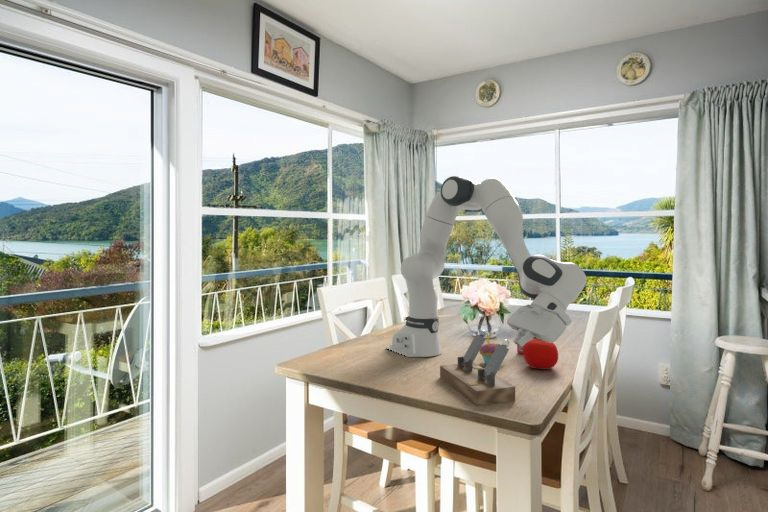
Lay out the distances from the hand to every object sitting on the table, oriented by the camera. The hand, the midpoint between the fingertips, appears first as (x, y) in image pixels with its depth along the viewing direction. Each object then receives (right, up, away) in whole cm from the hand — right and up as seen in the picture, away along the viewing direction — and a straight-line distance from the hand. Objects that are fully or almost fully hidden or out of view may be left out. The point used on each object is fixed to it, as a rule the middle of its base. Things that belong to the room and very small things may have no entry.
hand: (517, 344), depth 129 cm
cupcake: (0, -13, +29) cm, 32 cm away
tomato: (+15, -13, +24) cm, 31 cm away
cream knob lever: (-10, -9, -3) cm, 14 cm away
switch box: (-12, -14, +4) cm, 19 cm away
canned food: (+17, -12, +42) cm, 47 cm away
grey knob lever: (-14, -9, +10) cm, 19 cm away
